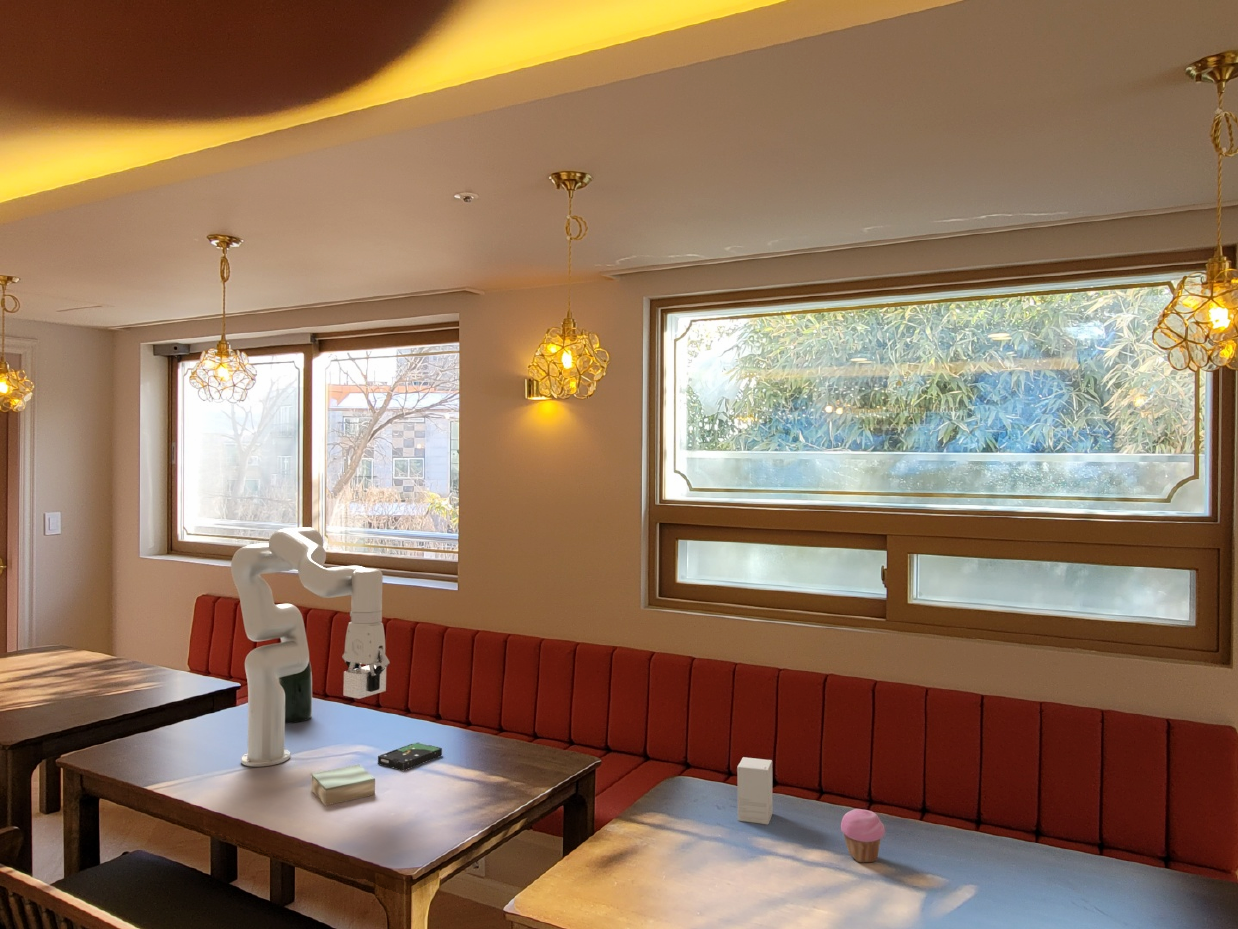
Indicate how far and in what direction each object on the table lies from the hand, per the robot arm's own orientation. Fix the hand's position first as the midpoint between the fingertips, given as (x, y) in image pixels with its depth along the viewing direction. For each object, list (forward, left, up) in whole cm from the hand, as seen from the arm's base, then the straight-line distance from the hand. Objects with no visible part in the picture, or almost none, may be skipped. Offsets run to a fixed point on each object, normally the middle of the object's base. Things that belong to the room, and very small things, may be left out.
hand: (364, 688), depth 209 cm
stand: (0, -5, -25) cm, 26 cm away
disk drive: (-13, +18, -26) cm, 34 cm away
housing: (0, 0, -1) cm, 1 cm away
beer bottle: (-72, +2, -25) cm, 76 cm away
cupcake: (+98, +72, -25) cm, 124 cm away
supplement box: (+70, +69, -25) cm, 101 cm away
